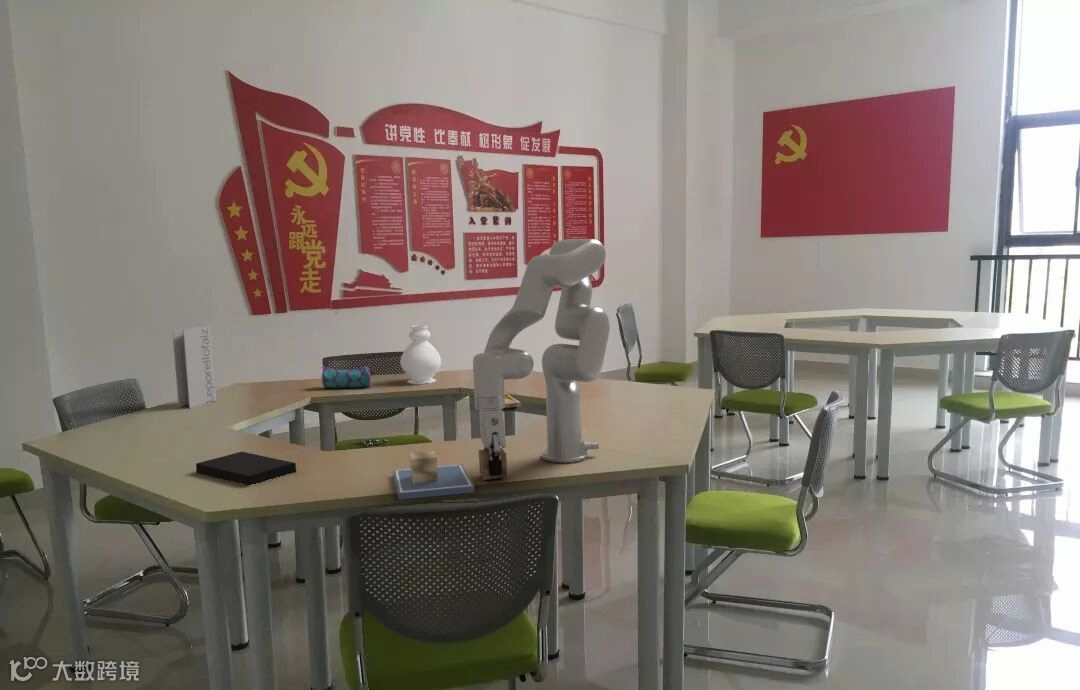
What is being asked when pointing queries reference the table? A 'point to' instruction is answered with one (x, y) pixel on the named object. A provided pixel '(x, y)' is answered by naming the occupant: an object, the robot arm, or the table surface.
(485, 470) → the walnut block
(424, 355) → the decorative vase
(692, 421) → the table surface
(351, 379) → the pencil case
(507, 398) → the puzzle game
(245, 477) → the external hard drive
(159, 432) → the table surface
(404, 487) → the blueprint board
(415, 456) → the maple base block
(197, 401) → the brochure
